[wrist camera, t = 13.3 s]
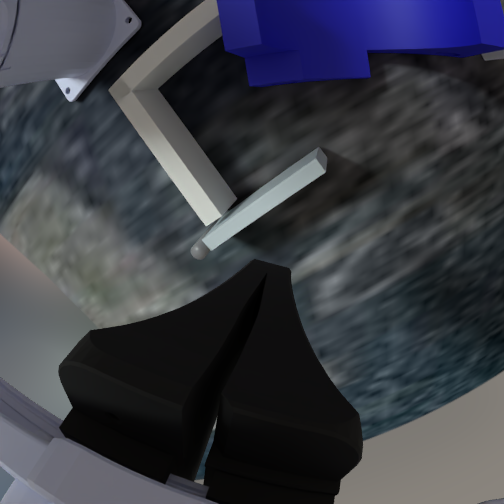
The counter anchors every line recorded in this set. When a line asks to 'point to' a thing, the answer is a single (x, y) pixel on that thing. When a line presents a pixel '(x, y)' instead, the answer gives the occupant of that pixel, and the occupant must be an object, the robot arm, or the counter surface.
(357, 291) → the counter surface
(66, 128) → the counter surface
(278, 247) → the counter surface
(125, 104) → the bracket
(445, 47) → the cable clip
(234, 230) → the gate
